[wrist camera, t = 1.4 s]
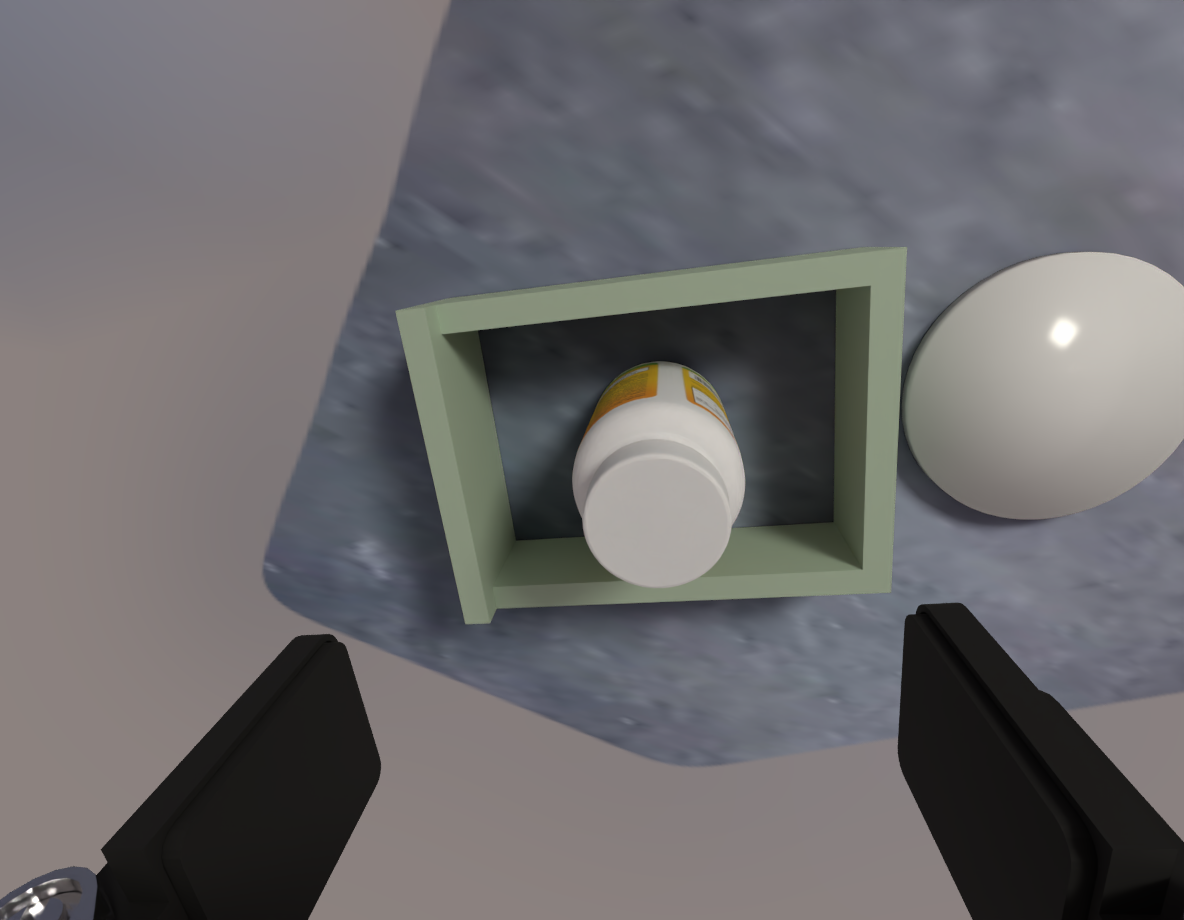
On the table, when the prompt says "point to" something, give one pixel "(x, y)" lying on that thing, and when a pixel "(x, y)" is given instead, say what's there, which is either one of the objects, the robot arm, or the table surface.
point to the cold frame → (753, 554)
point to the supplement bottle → (658, 476)
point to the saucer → (1050, 385)
